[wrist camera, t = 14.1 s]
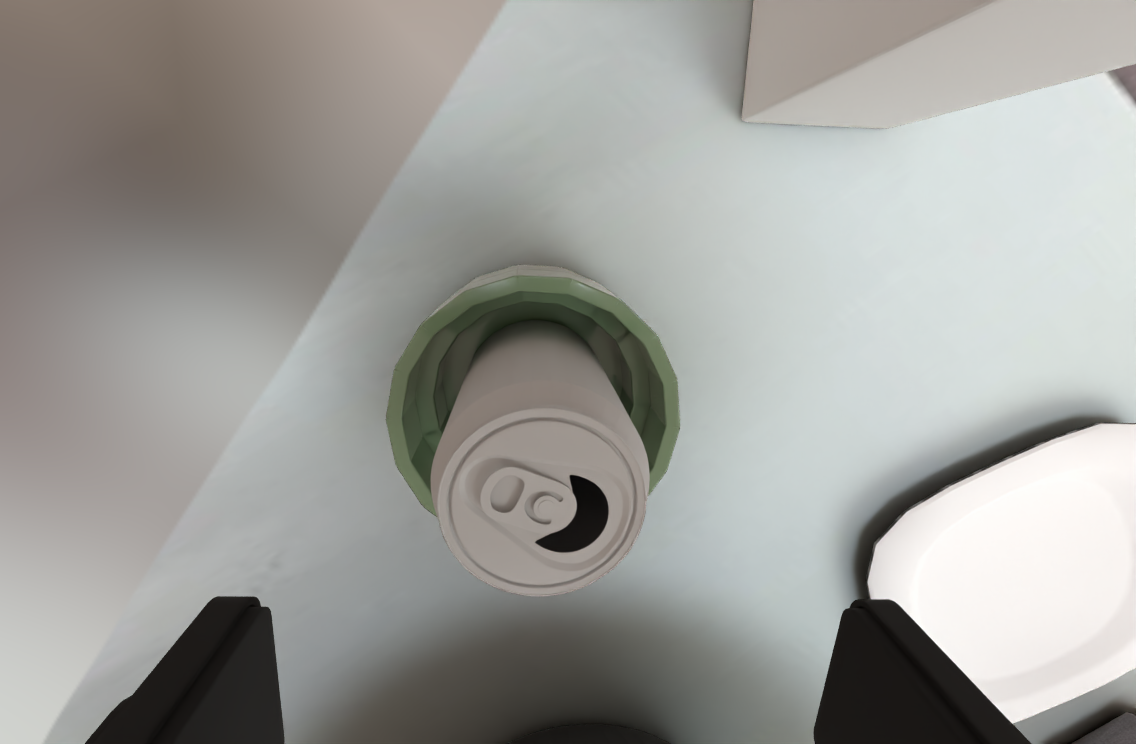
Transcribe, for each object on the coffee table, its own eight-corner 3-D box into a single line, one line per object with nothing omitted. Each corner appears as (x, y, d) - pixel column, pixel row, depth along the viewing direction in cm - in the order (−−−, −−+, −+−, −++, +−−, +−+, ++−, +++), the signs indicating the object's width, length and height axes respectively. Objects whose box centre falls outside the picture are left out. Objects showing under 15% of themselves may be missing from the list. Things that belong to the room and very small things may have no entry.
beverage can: (565, 462, 27) (597, 639, 16) (446, 413, 26) (385, 565, 14) (623, 350, 26) (704, 453, 14) (500, 293, 25) (480, 355, 13)
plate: (909, 739, 35) (928, 764, 33) (827, 520, 30) (845, 537, 28) (1174, 624, 34) (1207, 644, 33) (1134, 380, 29) (1170, 389, 28)
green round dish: (414, 257, 24) (381, 267, 19) (658, 271, 26) (698, 285, 20) (417, 481, 27) (388, 549, 22) (636, 485, 28) (664, 552, 23)
